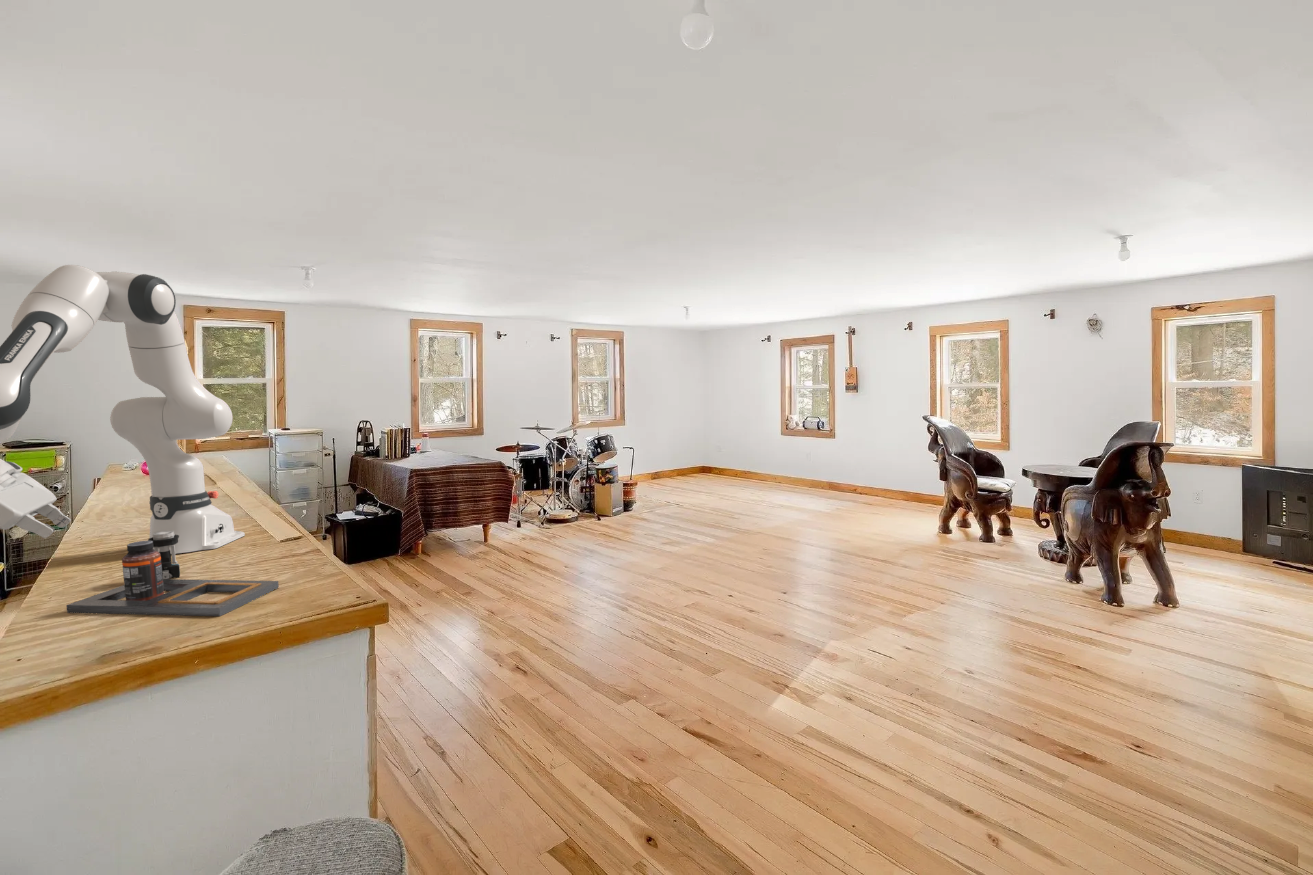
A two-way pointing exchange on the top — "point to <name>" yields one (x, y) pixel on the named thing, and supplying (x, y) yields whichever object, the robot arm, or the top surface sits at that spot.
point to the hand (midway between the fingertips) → (59, 529)
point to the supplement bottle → (142, 572)
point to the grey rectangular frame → (177, 598)
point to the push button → (167, 553)
